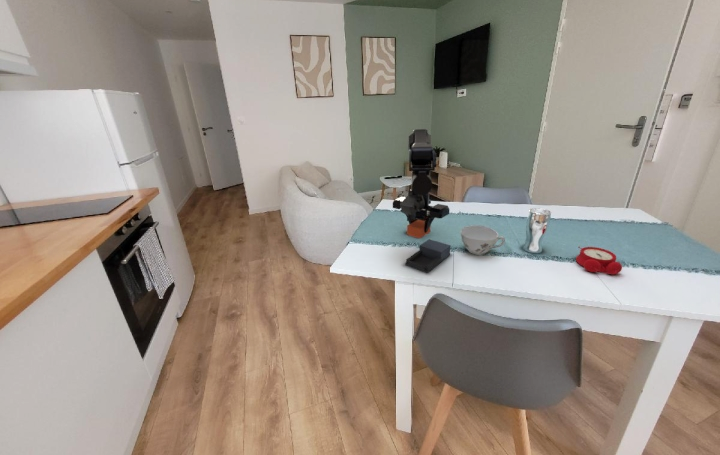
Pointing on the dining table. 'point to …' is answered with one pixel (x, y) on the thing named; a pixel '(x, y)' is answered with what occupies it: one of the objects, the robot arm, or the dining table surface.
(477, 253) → the teacup
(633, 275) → the dining table surface
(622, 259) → the dining table surface
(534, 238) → the beer glass
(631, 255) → the dining table surface
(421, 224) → the orange block
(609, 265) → the alarm clock
